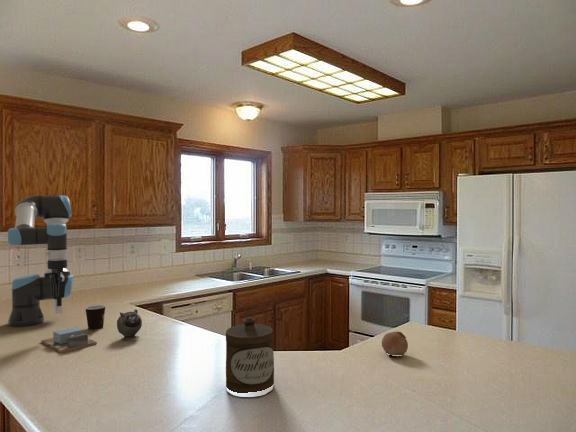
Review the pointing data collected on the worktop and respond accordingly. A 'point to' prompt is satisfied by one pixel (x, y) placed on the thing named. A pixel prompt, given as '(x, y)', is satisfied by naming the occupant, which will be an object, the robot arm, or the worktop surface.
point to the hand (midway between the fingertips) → (58, 313)
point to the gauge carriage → (65, 334)
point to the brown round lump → (395, 343)
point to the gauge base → (65, 346)
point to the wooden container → (249, 357)
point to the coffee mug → (95, 317)
